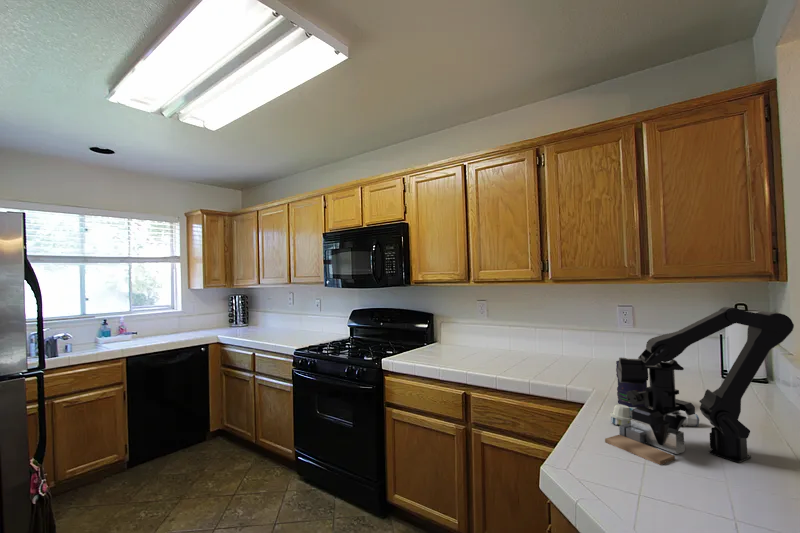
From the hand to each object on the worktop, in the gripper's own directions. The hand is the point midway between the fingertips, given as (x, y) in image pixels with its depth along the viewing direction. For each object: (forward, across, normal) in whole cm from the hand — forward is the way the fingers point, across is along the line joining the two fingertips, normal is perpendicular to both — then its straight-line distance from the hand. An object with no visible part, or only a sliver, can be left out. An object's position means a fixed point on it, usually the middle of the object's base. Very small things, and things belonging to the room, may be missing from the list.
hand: (664, 443), depth 104 cm
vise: (+1, 0, -7) cm, 7 cm away
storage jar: (+2, -27, -27) cm, 38 cm away
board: (+1, +8, -2) cm, 8 cm away
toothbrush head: (+2, -14, -12) cm, 19 cm away
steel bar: (+1, 0, -2) cm, 2 cm away
